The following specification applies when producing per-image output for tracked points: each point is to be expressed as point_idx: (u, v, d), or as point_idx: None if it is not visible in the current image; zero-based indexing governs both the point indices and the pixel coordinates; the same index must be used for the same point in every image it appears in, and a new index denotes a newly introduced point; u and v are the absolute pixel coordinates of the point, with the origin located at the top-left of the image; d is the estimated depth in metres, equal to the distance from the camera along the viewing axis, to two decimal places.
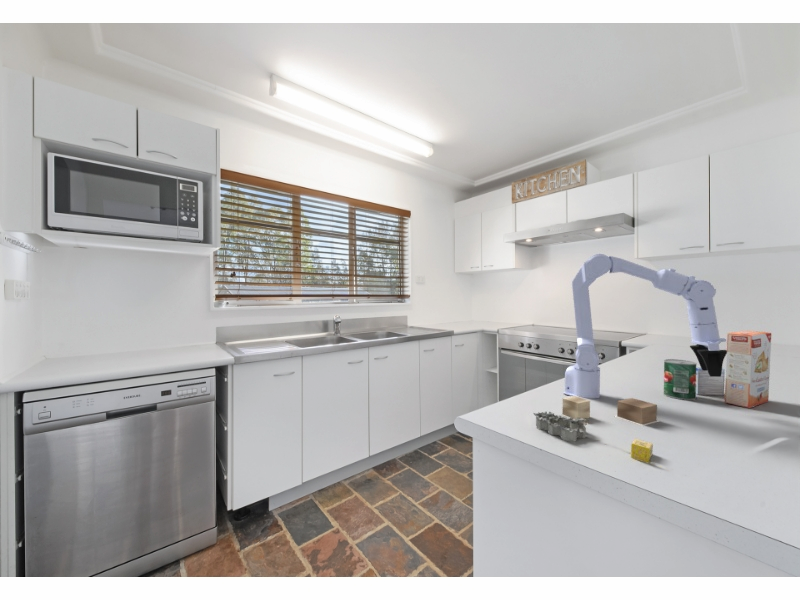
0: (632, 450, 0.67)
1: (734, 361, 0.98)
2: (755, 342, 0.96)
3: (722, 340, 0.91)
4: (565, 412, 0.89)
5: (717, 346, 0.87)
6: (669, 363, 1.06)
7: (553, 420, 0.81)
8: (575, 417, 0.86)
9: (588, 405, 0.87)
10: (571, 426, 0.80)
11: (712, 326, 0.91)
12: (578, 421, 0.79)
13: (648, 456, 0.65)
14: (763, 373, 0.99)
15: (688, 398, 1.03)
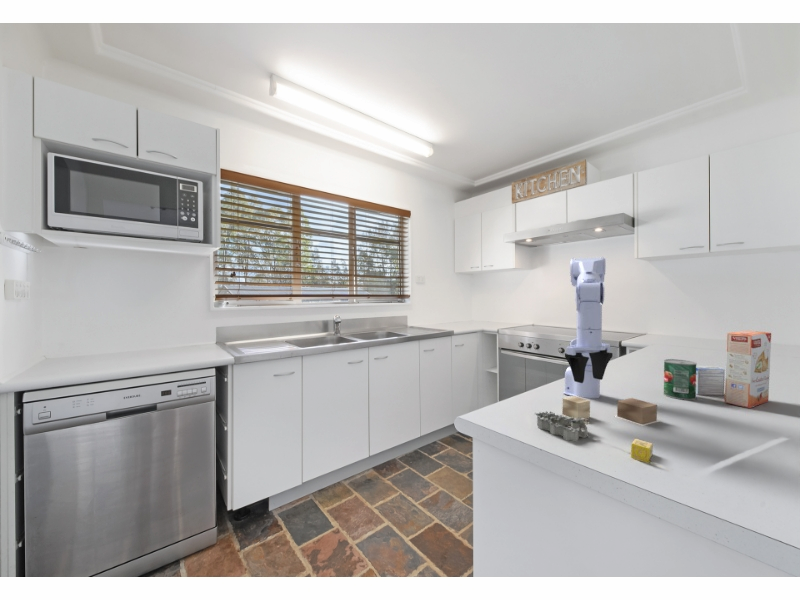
0: (632, 450, 0.67)
1: (734, 361, 0.98)
2: (755, 342, 0.96)
3: (597, 348, 0.86)
4: (565, 412, 0.89)
5: (572, 351, 0.85)
6: (669, 363, 1.06)
7: (554, 420, 0.81)
8: (575, 417, 0.86)
9: (588, 405, 0.87)
10: (572, 426, 0.80)
11: (587, 332, 0.87)
12: (579, 421, 0.79)
13: (648, 456, 0.65)
14: (763, 373, 0.99)
15: (688, 398, 1.03)
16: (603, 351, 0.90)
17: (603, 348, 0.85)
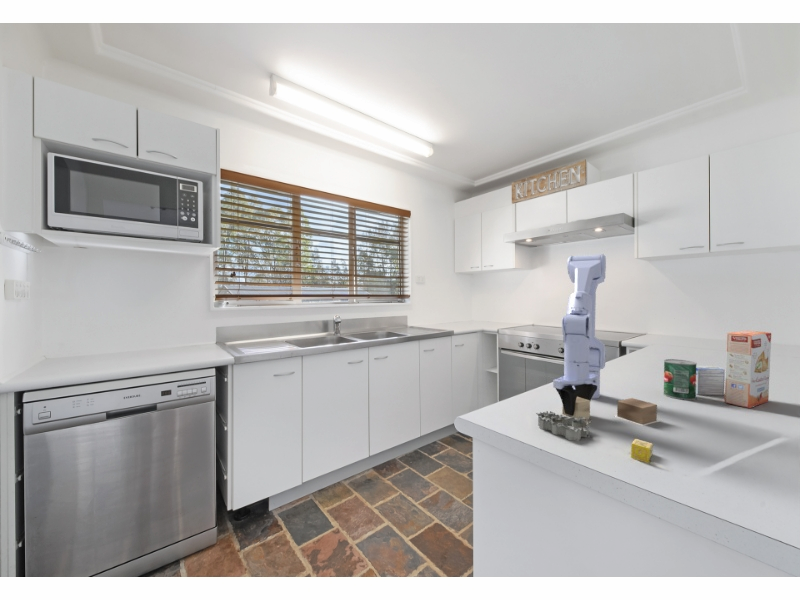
0: (632, 450, 0.67)
1: (734, 361, 0.98)
2: (755, 342, 0.96)
3: (584, 382, 0.85)
4: None
5: (558, 384, 0.85)
6: (669, 363, 1.06)
7: (556, 420, 0.81)
8: (575, 417, 0.86)
9: (588, 405, 0.87)
10: (573, 425, 0.81)
11: (574, 365, 0.86)
12: (580, 420, 0.79)
13: (648, 456, 0.65)
14: (763, 373, 0.99)
15: (688, 398, 1.03)
16: None
17: (590, 382, 0.85)
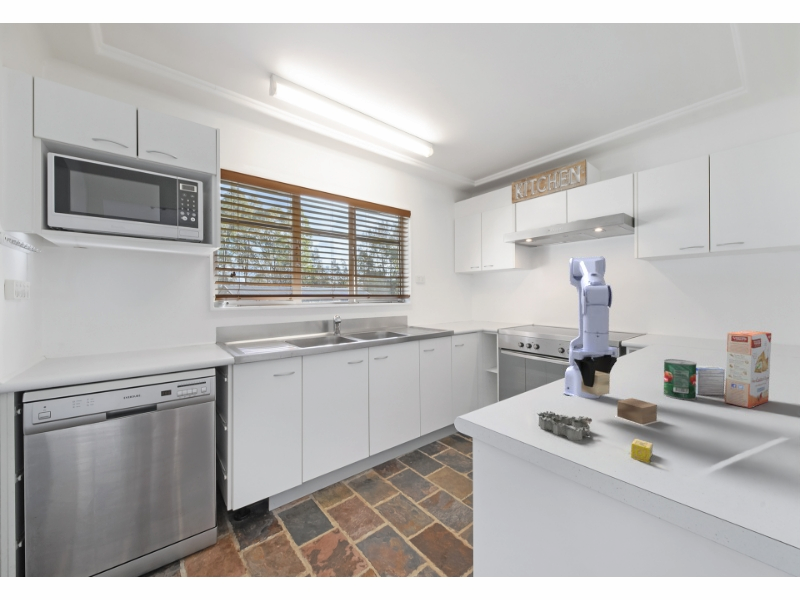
0: (632, 450, 0.67)
1: (734, 361, 0.98)
2: (755, 342, 0.96)
3: (604, 352, 0.84)
4: (584, 386, 0.88)
5: (578, 355, 0.84)
6: (669, 363, 1.06)
7: (556, 420, 0.81)
8: (595, 390, 0.85)
9: (608, 378, 0.86)
10: (574, 425, 0.81)
11: (593, 335, 0.85)
12: (581, 420, 0.80)
13: (648, 456, 0.65)
14: (763, 373, 0.99)
15: (688, 398, 1.03)
16: (610, 355, 0.89)
17: (610, 352, 0.84)
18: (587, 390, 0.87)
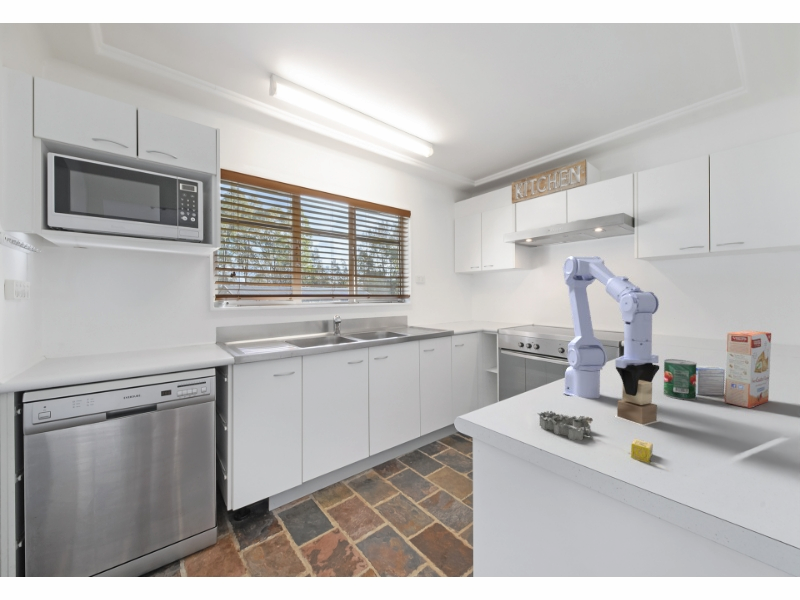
0: (632, 450, 0.67)
1: (734, 361, 0.98)
2: (755, 342, 0.96)
3: (648, 361, 0.83)
4: (626, 394, 0.86)
5: (622, 363, 0.82)
6: (669, 363, 1.06)
7: (557, 419, 0.81)
8: (638, 399, 0.84)
9: (650, 387, 0.85)
10: (574, 425, 0.81)
11: (637, 343, 0.84)
12: (582, 419, 0.80)
13: (648, 456, 0.65)
14: (763, 373, 0.99)
15: (688, 398, 1.03)
16: (652, 363, 0.87)
17: (654, 361, 0.82)
18: (629, 399, 0.86)
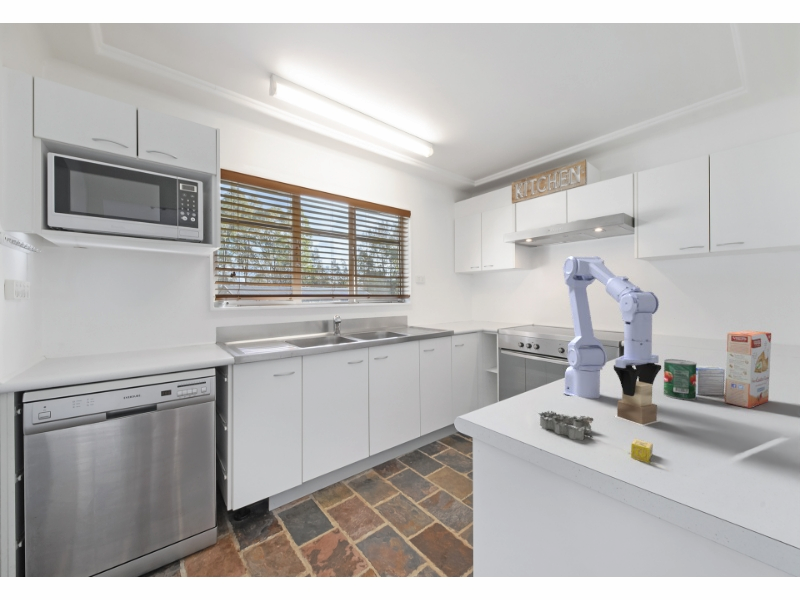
0: (632, 450, 0.67)
1: (734, 361, 0.98)
2: (755, 342, 0.96)
3: (648, 361, 0.83)
4: (625, 396, 0.86)
5: (622, 363, 0.82)
6: (669, 363, 1.06)
7: (558, 419, 0.81)
8: (637, 401, 0.84)
9: (650, 389, 0.85)
10: (575, 424, 0.81)
11: (637, 343, 0.84)
12: (582, 419, 0.80)
13: (648, 456, 0.65)
14: (763, 373, 0.99)
15: (688, 398, 1.03)
16: (652, 363, 0.87)
17: (654, 361, 0.82)
18: (629, 401, 0.86)
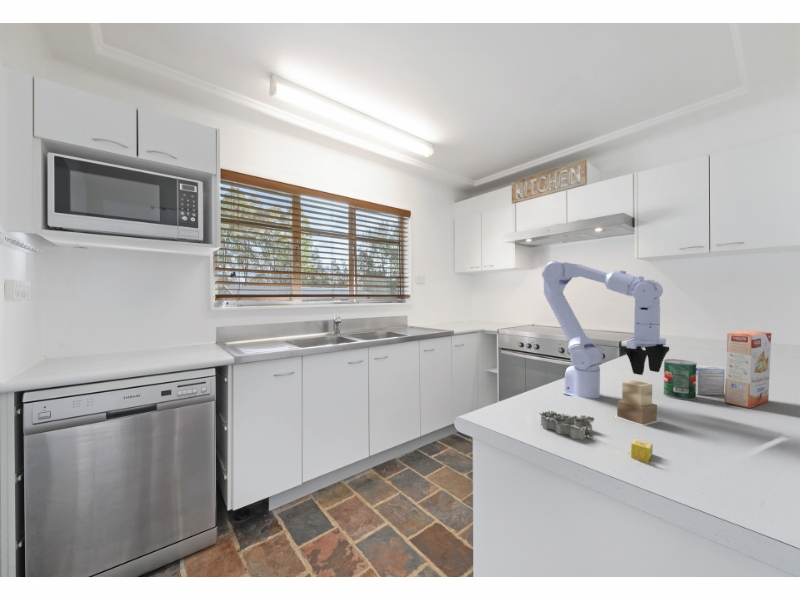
0: (632, 450, 0.67)
1: (734, 361, 0.98)
2: (755, 342, 0.96)
3: (657, 342, 0.91)
4: (625, 396, 0.86)
5: (633, 344, 0.90)
6: (669, 363, 1.06)
7: (559, 419, 0.81)
8: (637, 401, 0.84)
9: (650, 389, 0.85)
10: (576, 424, 0.81)
11: (646, 326, 0.92)
12: (583, 419, 0.80)
13: (648, 456, 0.65)
14: (763, 373, 0.99)
15: (688, 398, 1.03)
16: (660, 345, 0.95)
17: (662, 342, 0.91)
18: (629, 401, 0.86)
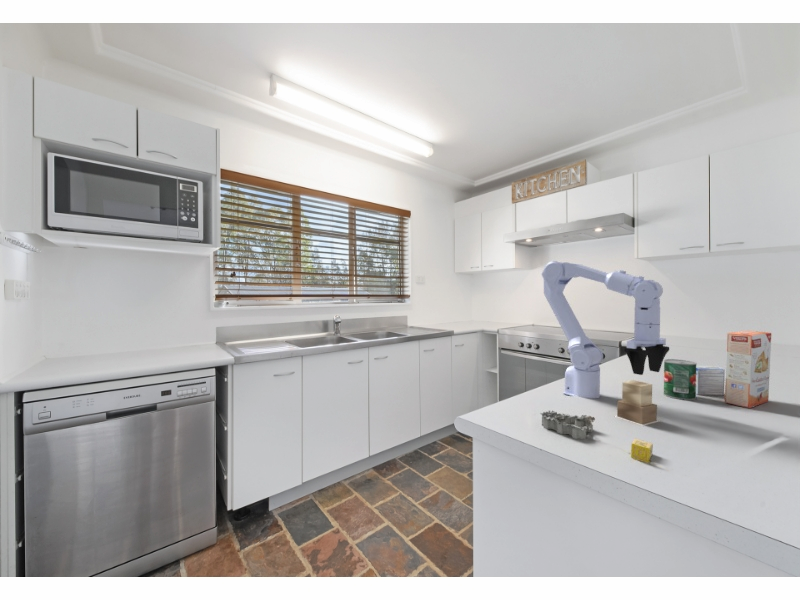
0: (632, 450, 0.67)
1: (734, 361, 0.98)
2: (755, 342, 0.96)
3: (657, 342, 0.91)
4: (625, 396, 0.86)
5: (633, 344, 0.90)
6: (669, 363, 1.06)
7: (560, 419, 0.82)
8: (637, 401, 0.84)
9: (650, 389, 0.85)
10: (576, 424, 0.82)
11: (646, 326, 0.92)
12: (584, 418, 0.80)
13: (648, 456, 0.65)
14: (763, 373, 0.99)
15: (688, 398, 1.03)
16: (660, 345, 0.95)
17: (662, 342, 0.91)
18: (629, 401, 0.86)
